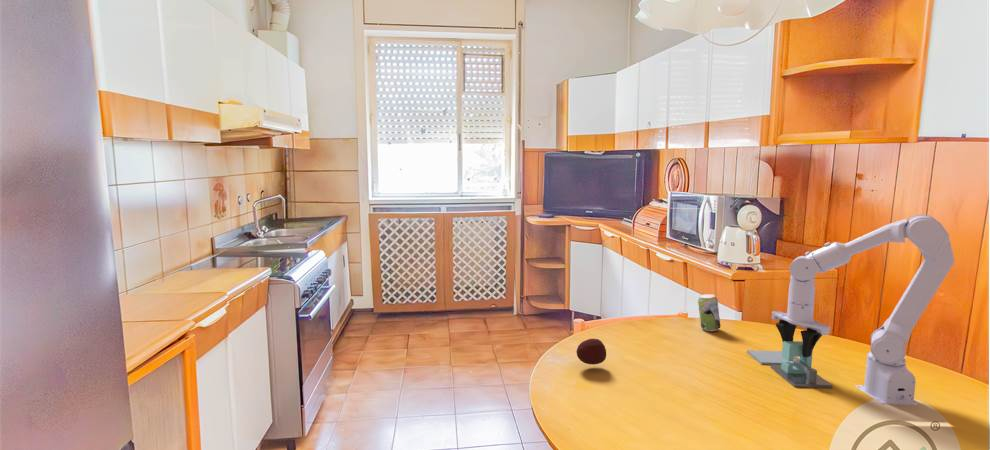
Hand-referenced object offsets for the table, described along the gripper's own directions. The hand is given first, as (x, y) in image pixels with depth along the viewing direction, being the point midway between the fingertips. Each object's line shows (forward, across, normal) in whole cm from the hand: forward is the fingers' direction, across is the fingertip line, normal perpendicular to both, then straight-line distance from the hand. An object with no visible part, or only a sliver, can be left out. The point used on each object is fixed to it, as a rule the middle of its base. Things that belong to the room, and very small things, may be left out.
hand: (797, 352), depth 127 cm
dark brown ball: (+6, +26, +46) cm, 53 cm away
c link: (+5, 0, 0) cm, 5 cm away
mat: (+6, +9, -5) cm, 12 cm away
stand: (+6, -2, +1) cm, 6 cm away
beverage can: (+6, +36, -6) cm, 37 cm away
